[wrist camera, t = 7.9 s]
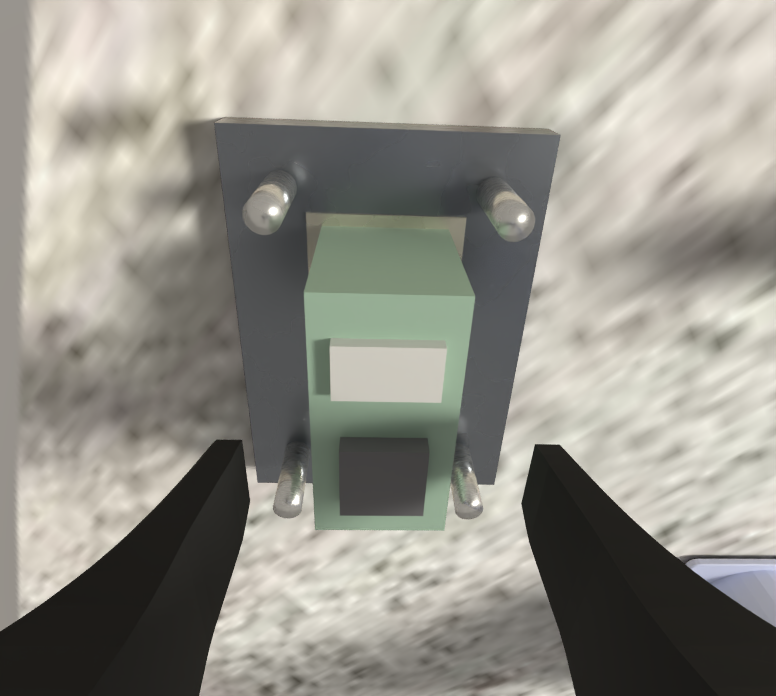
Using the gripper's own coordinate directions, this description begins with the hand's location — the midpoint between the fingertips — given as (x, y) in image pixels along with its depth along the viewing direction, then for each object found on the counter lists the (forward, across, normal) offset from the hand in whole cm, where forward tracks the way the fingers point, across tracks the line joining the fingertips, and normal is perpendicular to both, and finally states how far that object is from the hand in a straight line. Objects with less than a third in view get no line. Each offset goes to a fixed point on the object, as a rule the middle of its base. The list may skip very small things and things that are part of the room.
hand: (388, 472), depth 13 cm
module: (+6, 0, 0) cm, 7 cm away
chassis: (+8, 0, 0) cm, 8 cm away
